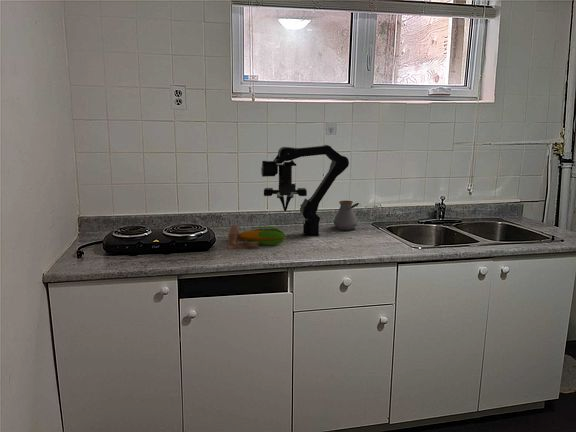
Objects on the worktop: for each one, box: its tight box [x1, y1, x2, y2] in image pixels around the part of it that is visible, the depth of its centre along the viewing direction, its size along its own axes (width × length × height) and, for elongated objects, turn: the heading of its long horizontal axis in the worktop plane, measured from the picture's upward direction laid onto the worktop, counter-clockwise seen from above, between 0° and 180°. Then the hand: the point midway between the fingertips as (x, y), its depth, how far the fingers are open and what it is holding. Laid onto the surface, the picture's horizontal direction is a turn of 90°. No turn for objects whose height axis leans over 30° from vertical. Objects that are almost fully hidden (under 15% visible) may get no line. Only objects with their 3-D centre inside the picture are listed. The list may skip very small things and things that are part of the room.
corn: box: [238, 226, 286, 246], centre depth 202 cm, size 7×8×20 cm
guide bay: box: [227, 225, 260, 250], centre depth 202 cm, size 12×15×6 cm
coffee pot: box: [333, 200, 361, 231], centre depth 225 cm, size 21×12×15 cm, turn 13°
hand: (285, 211), depth 215 cm, fingers closed
